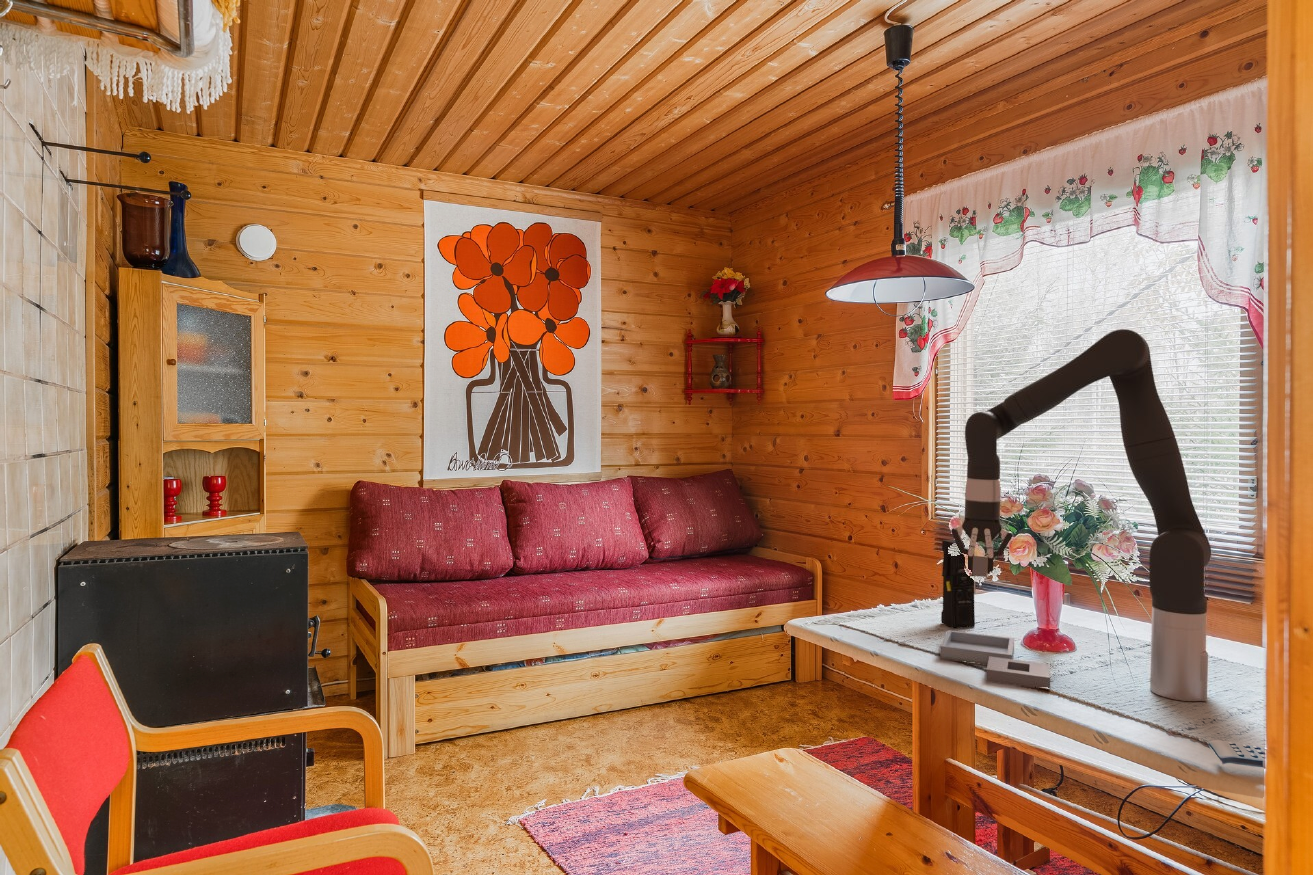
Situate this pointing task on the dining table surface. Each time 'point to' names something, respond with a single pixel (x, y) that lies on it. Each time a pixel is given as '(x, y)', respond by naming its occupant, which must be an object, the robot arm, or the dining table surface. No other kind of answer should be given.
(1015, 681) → the socket plate
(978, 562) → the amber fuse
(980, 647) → the grey tray
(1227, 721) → the dining table surface
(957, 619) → the portable radio
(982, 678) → the dining table surface
